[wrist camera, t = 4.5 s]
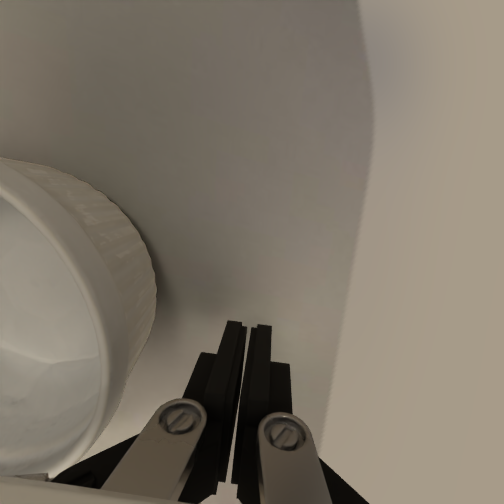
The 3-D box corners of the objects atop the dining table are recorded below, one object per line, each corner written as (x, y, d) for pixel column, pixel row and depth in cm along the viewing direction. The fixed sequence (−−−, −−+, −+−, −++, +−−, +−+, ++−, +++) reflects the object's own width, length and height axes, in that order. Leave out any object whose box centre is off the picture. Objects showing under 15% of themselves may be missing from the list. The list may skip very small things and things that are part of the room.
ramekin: (32, 83, 15) (-178, 15, 8) (231, 285, 16) (197, 368, 10) (-98, 266, 18) (-326, 327, 11) (80, 417, 20) (-24, 548, 13)
